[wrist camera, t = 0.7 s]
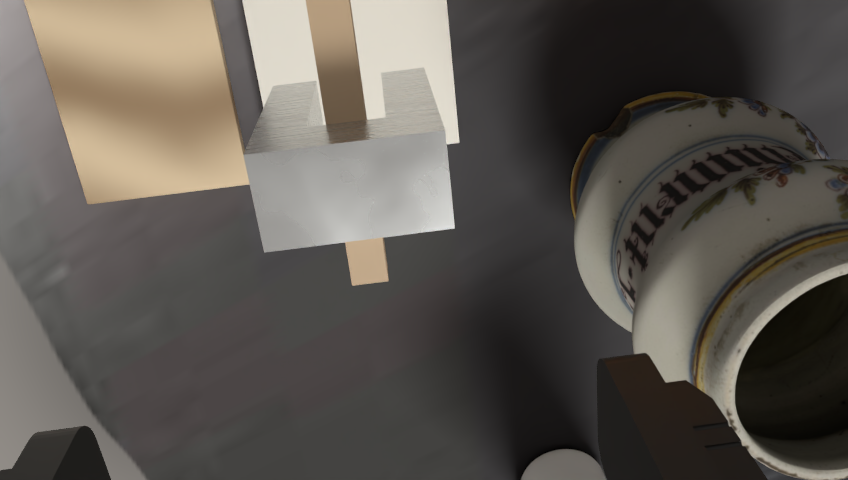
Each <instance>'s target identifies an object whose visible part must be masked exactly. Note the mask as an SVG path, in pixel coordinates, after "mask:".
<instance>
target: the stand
mask: <svg viewBox="0 0 848 480" xmlns="http://www.w3.org/2000/svg"><path fill="white" fill-rule="evenodd" d="M242 2H243V7H244V12H245V17H246V22H247V27H248V32H249V37H250V42H251V47H252V52H253V57H254V63H255V68H256V73H257V78H258V83H259V88H260V93H261V98H262V103H263V108H264V106H265V103H266V101H267V99H268V96H269V94H270V92H271V89H272V87H273V86H275V85H284V84H292V83H300V82H308V81H316V82H317V88H318V94H319V100H320V106H321V112H322V118H323V124H324V125H327V124H335V123H343V122H351V121H360V120H368V119H376V118H384V117H386V115H385V106H384V96H383V87H382V77H381V73H382V72H390V71H399V70H407V69H415V68H423V67H424V69H425V72H426V75H427V78H428V81H429V84H430V87H431V90H432V92H433V95H434V98H435V101H436V104H437V107H438V110H439V113H440V116H441V119H442V122H443V125H444V128H445V133H446V143H447V144H452V143H459V133H458V122H457V111H456V100H455V89H454V78H453V66H452V55H451V44H450V33H449V22H448V11H447V0H242ZM345 244H346V250H347V256H348V262H349V268H350V275H351V281H352V286H354V285H362V284H369V283H377V282H385V281H389V280H388V266H387V258H386V251H385V244H384V237H382V238H375V239H367V240H359V241H351V242H345Z"/></svg>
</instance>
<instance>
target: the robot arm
mask: <svg viewBox="0 0 848 480" xmlns="http://www.w3.org/2000/svg"><path fill="white" fill-rule="evenodd" d="M597 414H598V444H599V451H600V456H601V461H602V465H603V469H604V472H605V475H606V478H607V480H768V479H767V478H766V476H765V475H764V474H763V472H762V471H761V469H760V468H759V466H758V465H757V463H756V462H755V460H754V459H753V457H752V456H751V454H750V453H749V451H748V450H747V448H746V447H745V446H742V442H741V440H740V438H739V437H738V435H737V434H736V432H735V431H734V429H733V428H732V426H730V427H729V423H728V420H727V419H726V417H725V416H724V414H723V413H722V412H721V410H720V409H719V407H718V406H717V404H716V403H715V401H714V400H713V398H711V397H710V396H708V395H707V394H705V393H704V392H703V391H701V390H700V389H698V388H697V387H695V386H694V385H692V384H691V383H689V382H688V381H687V380H682V381H674V382H667V383H666V382H665V381H664V379H663V377H662V376H661V374H660V372H659V371H658V369H657V367H656V366H655V364H654V363H653V361H652V359H651V358H650V356H649V355H648V354H647V353H640V354H632V355H625V356H617V357H610V358H602V359H599V360H598V364H597ZM0 480H111V478H110V476H109V473H108V470H107V467H106V465H105V462H104V459H103V457H102V453H101V451H100V448H99V445H98V443H97V440H96V437H95V435H94V433H93V431H92V430H91V429H90V428H89V427H87V426H81V427H74V428H66V429H59V430H51V431H44V432H37V433H35V434H34V435H33V436H32V437H31V438H30V440H29V441H28V443H27V444H26V446H25V448H24V449H23V451H22V453H21V455H20V456H19V458H18V460H17V461H16V463H15V465H14V466H13V468H12V469H7V470H1V471H0Z"/></svg>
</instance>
